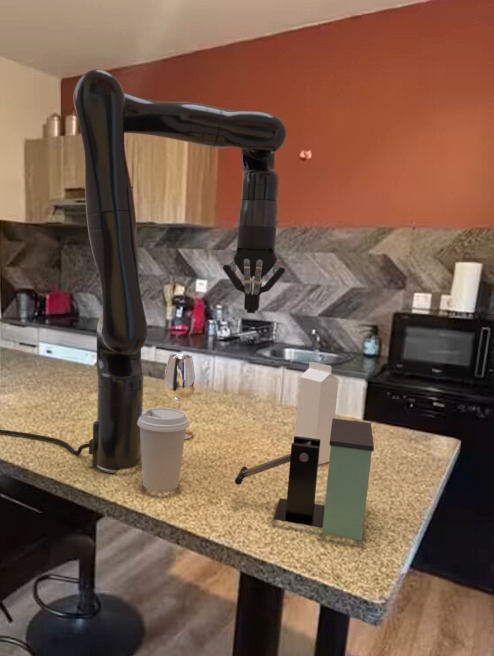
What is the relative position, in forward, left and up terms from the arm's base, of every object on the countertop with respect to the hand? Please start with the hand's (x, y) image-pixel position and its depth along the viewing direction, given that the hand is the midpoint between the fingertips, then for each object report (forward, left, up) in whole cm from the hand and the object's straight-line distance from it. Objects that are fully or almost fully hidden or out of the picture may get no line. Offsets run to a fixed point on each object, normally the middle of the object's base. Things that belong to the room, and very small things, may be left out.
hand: (251, 312), depth 112 cm
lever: (+10, -20, -25) cm, 33 cm away
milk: (+14, +11, -33) cm, 38 cm away
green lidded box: (+21, -20, -33) cm, 44 cm away
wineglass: (-19, +15, -33) cm, 41 cm away
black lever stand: (+14, -20, -33) cm, 41 cm away
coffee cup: (-12, -18, -33) cm, 40 cm away
